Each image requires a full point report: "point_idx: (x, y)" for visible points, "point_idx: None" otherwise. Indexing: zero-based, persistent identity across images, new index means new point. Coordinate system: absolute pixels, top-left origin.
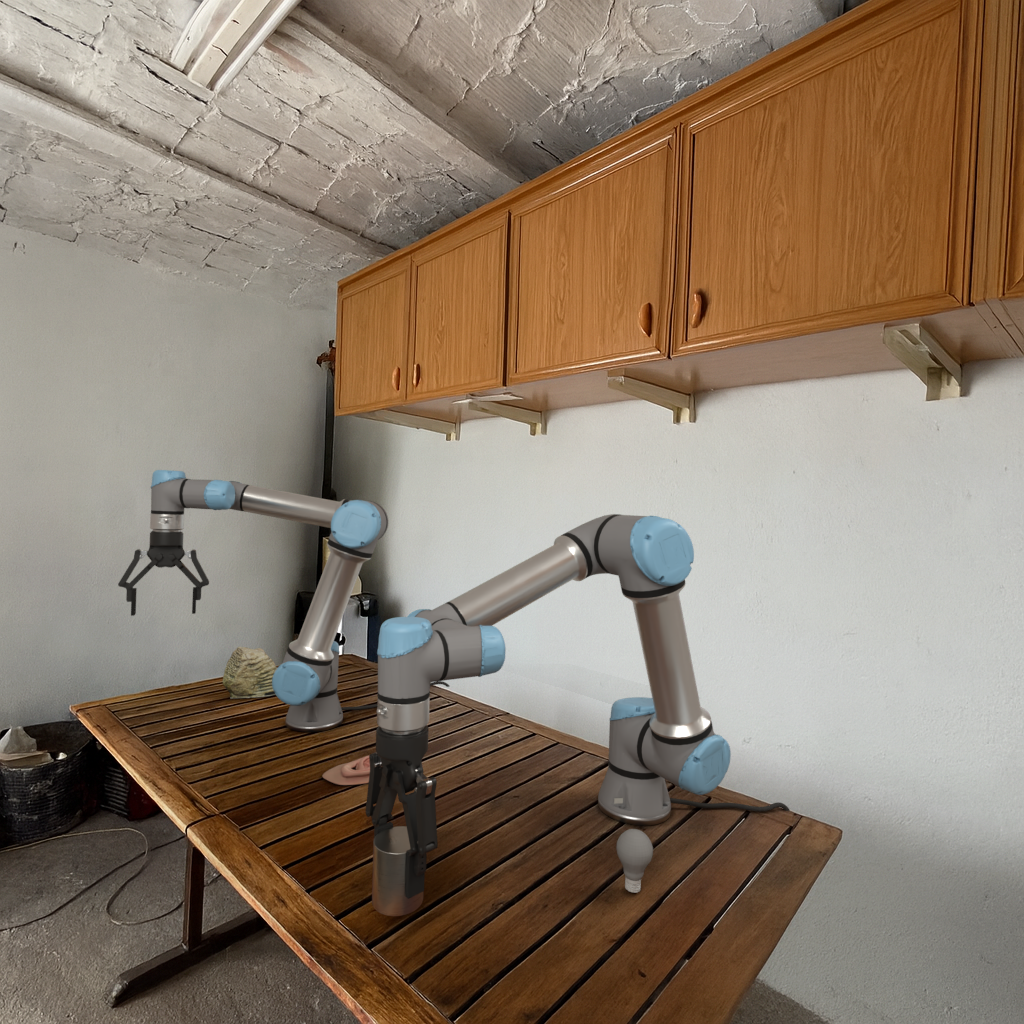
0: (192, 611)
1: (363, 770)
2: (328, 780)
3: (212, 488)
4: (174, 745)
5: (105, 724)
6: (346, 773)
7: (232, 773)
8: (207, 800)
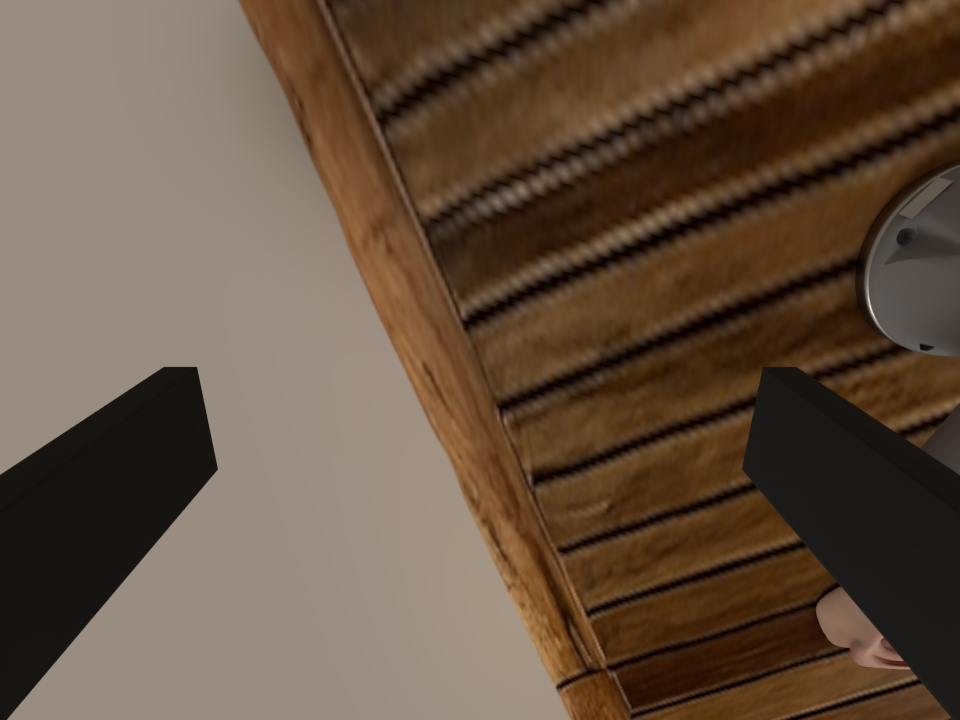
0: (757, 480)
1: (897, 660)
2: (820, 625)
3: None
4: (524, 326)
5: (284, 43)
6: (859, 664)
7: (648, 533)
8: (590, 624)
